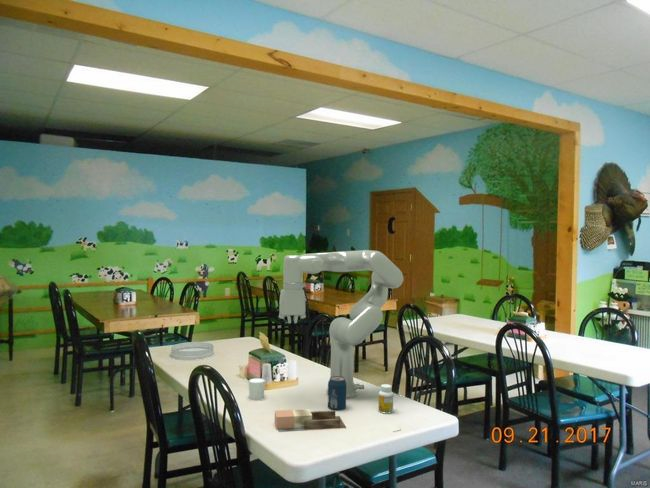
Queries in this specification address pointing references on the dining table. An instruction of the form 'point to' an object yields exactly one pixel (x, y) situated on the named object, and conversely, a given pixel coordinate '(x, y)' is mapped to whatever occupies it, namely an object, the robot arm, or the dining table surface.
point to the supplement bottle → (386, 399)
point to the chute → (320, 422)
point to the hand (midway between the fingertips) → (291, 332)
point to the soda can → (337, 393)
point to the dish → (192, 350)
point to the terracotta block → (284, 419)
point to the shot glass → (256, 388)
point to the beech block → (301, 417)
